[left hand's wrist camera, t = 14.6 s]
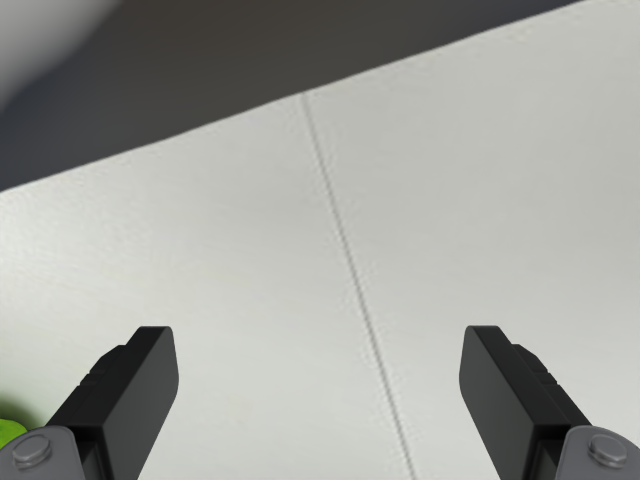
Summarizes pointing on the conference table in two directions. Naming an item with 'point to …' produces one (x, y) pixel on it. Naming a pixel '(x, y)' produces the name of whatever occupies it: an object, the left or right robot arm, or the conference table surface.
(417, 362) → the conference table surface
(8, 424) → the decorative tree
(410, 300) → the conference table surface
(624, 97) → the conference table surface
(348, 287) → the conference table surface
